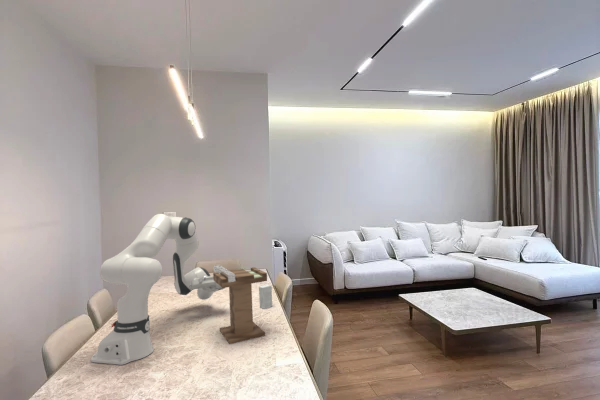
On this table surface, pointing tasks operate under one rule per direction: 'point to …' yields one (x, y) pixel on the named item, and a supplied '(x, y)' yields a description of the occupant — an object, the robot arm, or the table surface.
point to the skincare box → (265, 296)
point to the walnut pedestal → (241, 304)
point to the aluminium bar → (224, 273)
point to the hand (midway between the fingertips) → (213, 276)
